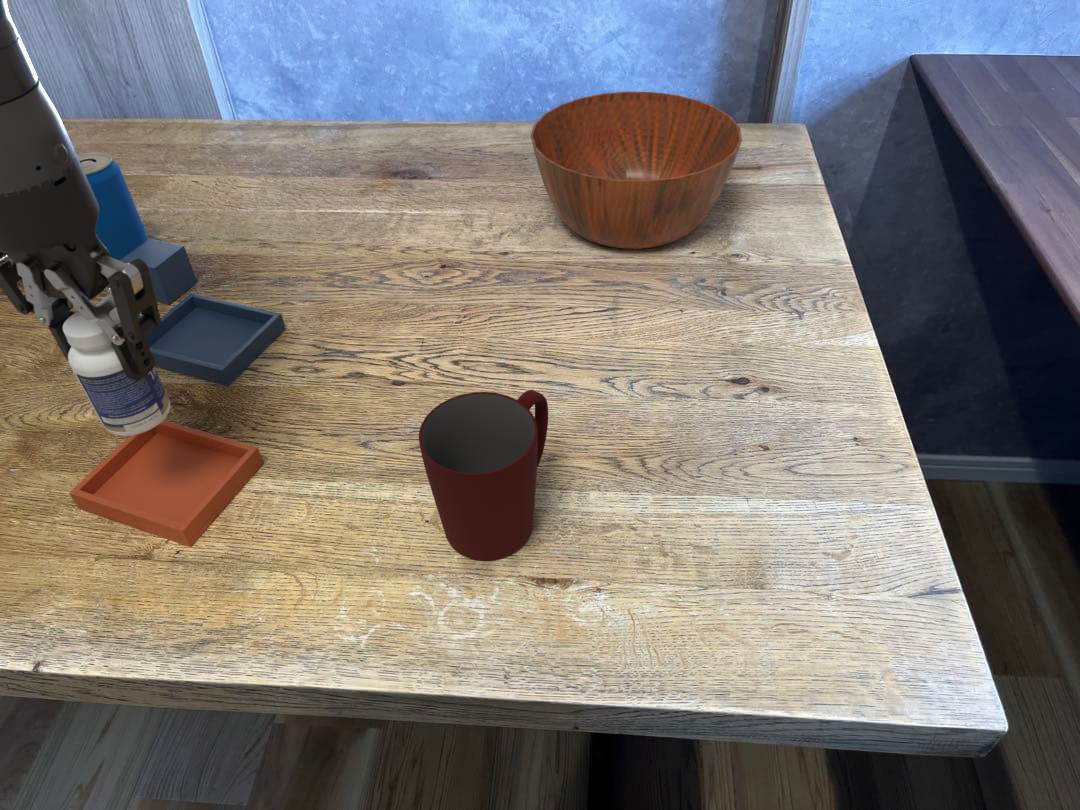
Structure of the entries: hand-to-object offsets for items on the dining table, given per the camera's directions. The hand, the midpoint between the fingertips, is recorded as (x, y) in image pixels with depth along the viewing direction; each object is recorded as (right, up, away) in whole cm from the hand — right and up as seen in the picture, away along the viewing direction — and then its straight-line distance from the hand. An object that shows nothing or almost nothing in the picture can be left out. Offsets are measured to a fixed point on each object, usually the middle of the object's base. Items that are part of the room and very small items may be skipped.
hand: (112, 364), depth 64 cm
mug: (+30, -13, +6) cm, 33 cm away
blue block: (-11, +10, +33) cm, 36 cm away
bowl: (+45, +21, +41) cm, 65 cm away
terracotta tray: (+1, -10, +9) cm, 14 cm away
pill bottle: (0, -4, +4) cm, 6 cm away
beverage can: (-19, +16, +39) cm, 47 cm away
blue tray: (-2, +3, +24) cm, 25 cm away
